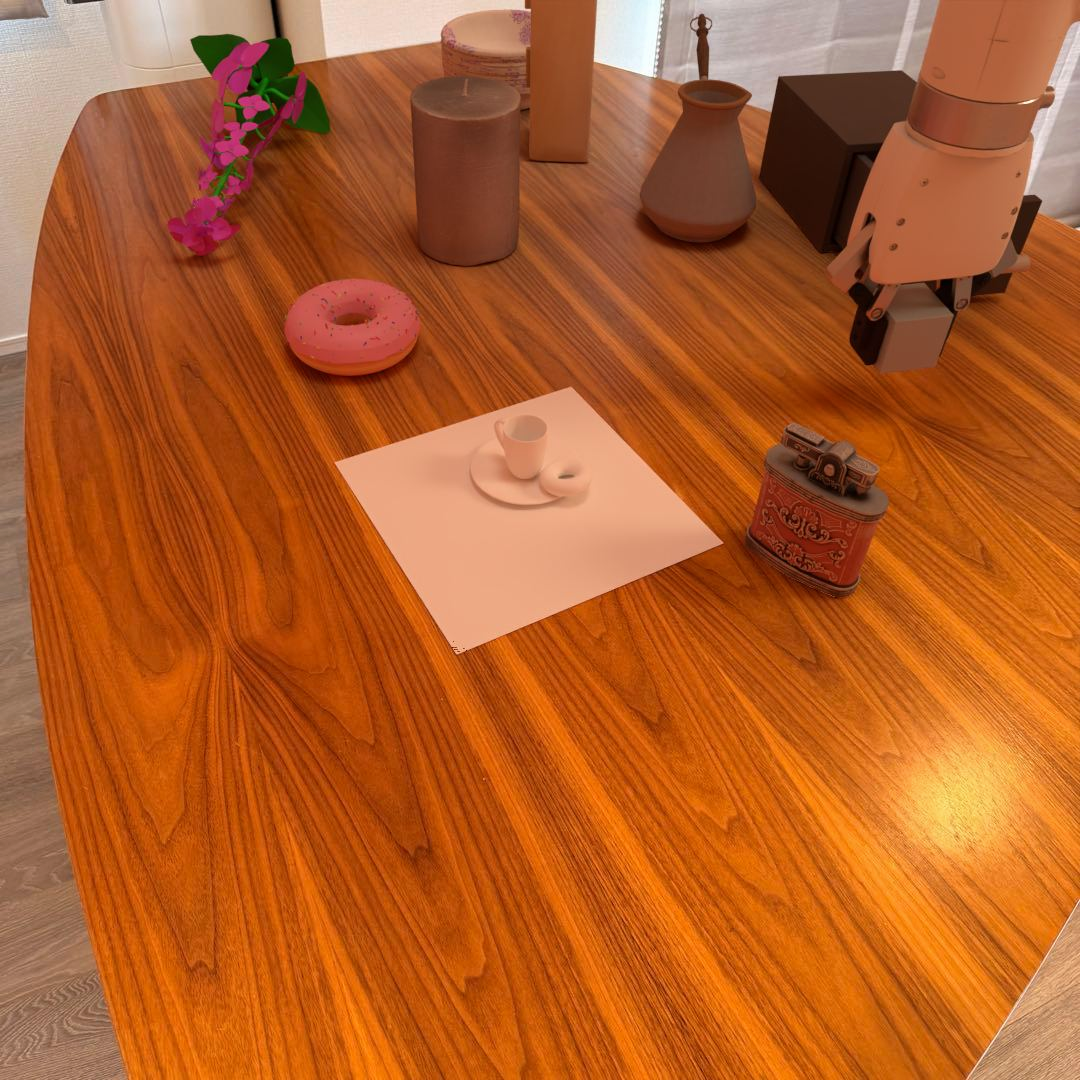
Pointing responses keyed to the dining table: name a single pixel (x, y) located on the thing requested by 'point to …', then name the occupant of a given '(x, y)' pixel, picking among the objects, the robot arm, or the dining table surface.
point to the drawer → (998, 284)
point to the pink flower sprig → (244, 123)
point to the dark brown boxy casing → (827, 140)
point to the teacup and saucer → (521, 515)
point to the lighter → (816, 511)
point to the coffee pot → (702, 161)
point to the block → (913, 330)
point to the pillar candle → (466, 168)
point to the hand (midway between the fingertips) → (894, 349)
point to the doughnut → (352, 327)
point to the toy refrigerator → (560, 78)
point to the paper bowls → (489, 47)
